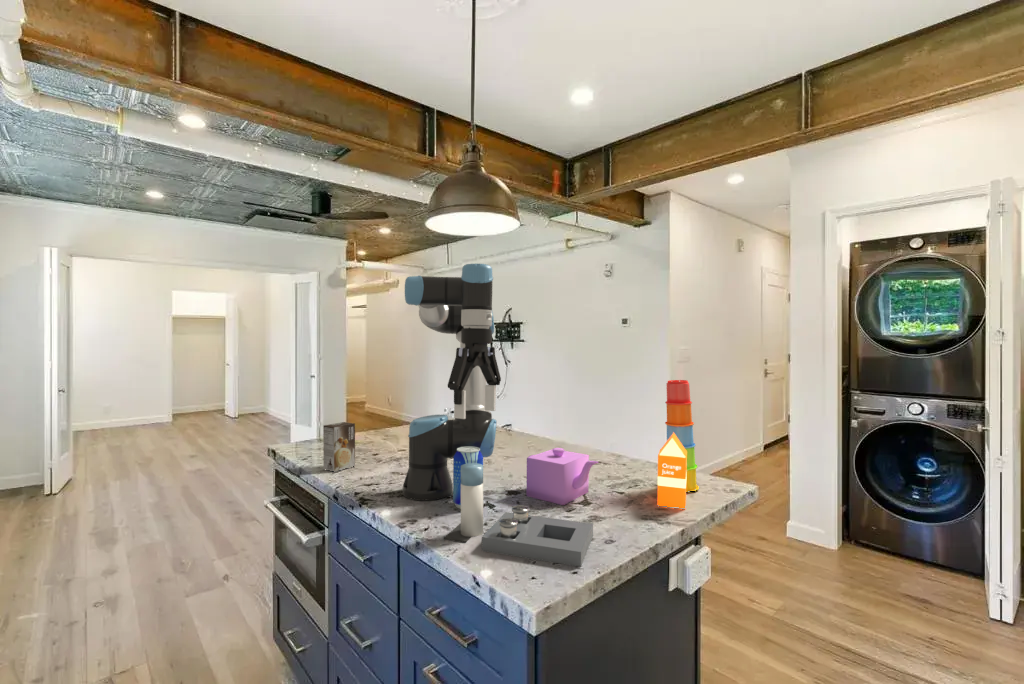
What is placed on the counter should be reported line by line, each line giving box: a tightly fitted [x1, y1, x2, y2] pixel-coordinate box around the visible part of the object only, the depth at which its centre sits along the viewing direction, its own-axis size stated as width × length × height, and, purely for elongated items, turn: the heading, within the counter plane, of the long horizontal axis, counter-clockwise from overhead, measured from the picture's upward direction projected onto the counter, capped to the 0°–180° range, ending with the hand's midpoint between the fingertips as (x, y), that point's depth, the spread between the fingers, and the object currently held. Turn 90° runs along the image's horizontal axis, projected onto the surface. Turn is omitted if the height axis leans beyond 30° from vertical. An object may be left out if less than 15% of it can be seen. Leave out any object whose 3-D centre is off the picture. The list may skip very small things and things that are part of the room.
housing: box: [481, 511, 594, 568], centre depth 108 cm, size 22×16×4 cm
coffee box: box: [322, 421, 356, 472], centre depth 170 cm, size 9×6×16 cm
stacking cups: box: [664, 379, 700, 493], centre depth 151 cm, size 10×10×35 cm
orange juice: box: [656, 432, 687, 509], centre depth 137 cm, size 8×9×20 cm
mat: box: [443, 522, 472, 544], centre depth 114 cm, size 10×10×1 cm
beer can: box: [452, 446, 484, 510], centre depth 134 cm, size 8×8×16 cm
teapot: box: [525, 447, 600, 506], centre depth 144 cm, size 15×25×14 cm, turn 53°
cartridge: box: [460, 463, 484, 538], centre depth 114 cm, size 5×5×16 cm
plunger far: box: [511, 504, 530, 524], centre depth 114 cm, size 4×4×4 cm
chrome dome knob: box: [499, 518, 518, 539], centre depth 106 cm, size 4×4×4 cm
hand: (475, 414), depth 116 cm, fingers open, 13 cm apart
